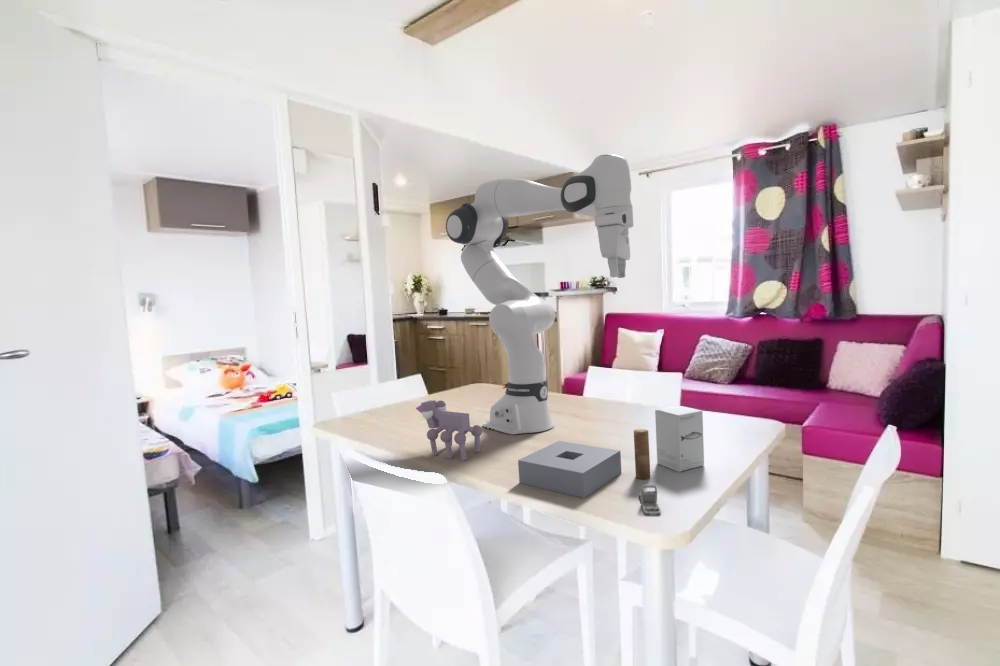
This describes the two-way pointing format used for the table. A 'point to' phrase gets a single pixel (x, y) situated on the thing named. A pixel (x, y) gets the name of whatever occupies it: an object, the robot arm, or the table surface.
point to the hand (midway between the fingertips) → (618, 277)
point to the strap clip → (649, 500)
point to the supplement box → (679, 437)
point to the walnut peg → (642, 454)
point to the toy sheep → (448, 427)
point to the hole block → (570, 468)
